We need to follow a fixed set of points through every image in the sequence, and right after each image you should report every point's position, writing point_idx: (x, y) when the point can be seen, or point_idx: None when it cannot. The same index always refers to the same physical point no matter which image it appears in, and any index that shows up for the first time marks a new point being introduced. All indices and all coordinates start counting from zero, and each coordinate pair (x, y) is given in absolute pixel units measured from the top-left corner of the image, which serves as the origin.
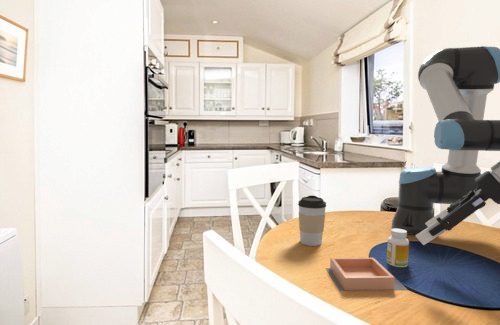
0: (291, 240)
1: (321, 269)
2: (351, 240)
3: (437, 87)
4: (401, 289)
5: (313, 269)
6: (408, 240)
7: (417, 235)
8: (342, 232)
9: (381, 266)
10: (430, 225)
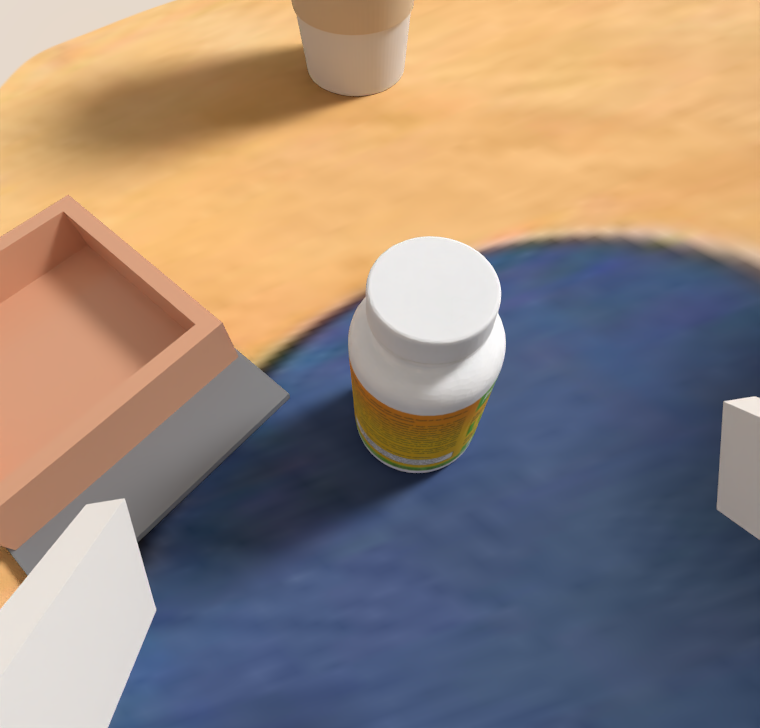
0: None
1: None
2: (539, 143)
3: None
4: None
5: None
6: (465, 393)
7: (74, 525)
8: (603, 79)
9: (107, 408)
10: (749, 465)
